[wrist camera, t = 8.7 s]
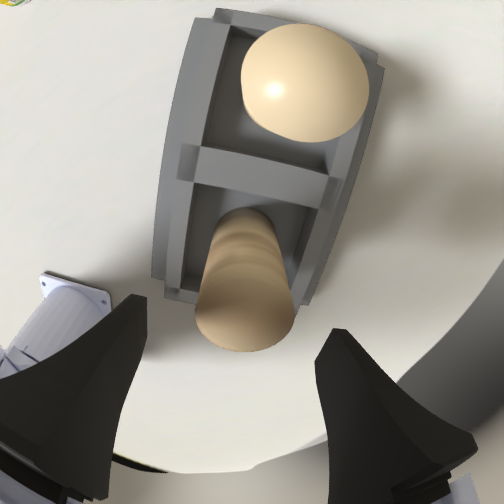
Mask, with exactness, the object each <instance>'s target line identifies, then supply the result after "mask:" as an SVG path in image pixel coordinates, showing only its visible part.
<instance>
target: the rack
mask: <svg viewBox="0 0 504 504" xmlns="http://www.w3.org/2000/svg"><path fill="white" fill-rule="evenodd" d="M377 57H378V53H377V52H375V51H372V50H370V49H368V48H366V47H363V46H361V45H359V44H356V43H354V42H351V41H349V40H346V39H344V38H341V37H340V36H339V35H337V34H335V33H334V32H332V31H330V30H327V29H325V28H322V27H319V26H315V25H310V24H299V23H295V22H291V21H287V20H283V19H279V18H275V17H270V16H266V15H261V14H255V13H250V12H244V11H237V10H230V9H222V8H216V10H215V13H214V16H213V19H208V18H195V19H194V22H193V25H192V28H191V32H190V35H189V38H188V42H187V45H186V49H185V52H184V56H183V60H182V64H181V67H180V71H179V75H178V80H177V84H176V88H175V92H174V97H173V102H172V106H171V111H170V116H169V122H168V127H167V132H166V138H165V144H164V150H163V157H162V163H161V170H160V178H159V186H158V194H157V203H156V213H155V224H154V237H153V252H152V273H151V277H152V278H156V279H161V280H165V293H164V298H167V299H172V300H177V301H182V302H187V303H192V304H197V300H198V295H199V291H200V287H201V283H202V278H203V274H204V270H205V266H206V262H207V258H208V254H209V250H210V246H211V242H212V238H213V234H214V231H215V227H216V225H217V223H218V221H219V220H220V218H221V217H222V216H223V215H224V214H226V213H227V212H229V211H231V210H233V209H236V208H242V207H248V208H254V209H257V210H259V211H261V212H263V213H264V214H265V215H267V216H268V217H269V219H270V220H271V221H272V223H273V225H274V228H275V232H276V236H277V240H278V244H279V248H280V252H281V256H282V260H283V264H284V268H285V272H286V276H287V280H288V285H289V289H290V293H291V297H292V302H293V306H294V311H295V317H296V314H297V312H298V309H299V307H300V304H301V305H308V306H309V303H310V301H311V299H312V296H313V294H314V291H315V289H316V287H317V284H318V282H319V279H320V277H321V274H322V272H323V269H324V267H325V264H326V261H327V259H328V256H329V254H330V251H331V248H332V246H333V243H334V240H335V238H336V235H337V232H338V229H339V227H340V224H341V221H342V218H343V215H344V212H345V210H346V207H347V204H348V201H349V198H350V195H351V192H352V189H353V186H354V182H355V179H356V176H357V173H358V170H359V166H360V163H361V160H362V156H363V153H364V150H365V146H366V143H367V139H368V136H369V132H370V128H371V125H372V121H373V117H374V113H375V109H376V105H377V101H378V97H379V93H380V88H381V84H382V80H383V75H384V70H385V68H383V67H381V66H379V65H377V64H376V62H377ZM294 319H295V318H294Z"/></svg>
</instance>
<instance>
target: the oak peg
mask: <svg viewBox="0 0 504 504" xmlns="http://www.w3.org/2000/svg"><path fill="white" fill-rule="evenodd" d="M294 318H295V311H294V306H293V302H292V297H291V293H290V289H289V285H288V280H287V276H286V272H285V268H284V264H283V260H282V256H281V252H280V248H279V244H278V240H277V236H276V232H275V228H274V225H273V223H272V221H271V220H270V219H269V217H268V216H267V215H265V214H264V213H263V212H261V211H259V210H257V209H254V208H248V207H242V208H236V209H233V210H231V211H229V212H227V213H226V214H224V215H223V216H222V217H221V218H220V220H219V221H218V223H217V225H216V227H215V231H214V234H213V238H212V242H211V246H210V250H209V254H208V258H207V262H206V266H205V270H204V274H203V278H202V283H201V287H200V291H199V295H198V300H197V304H196V308H195V320H196V324H197V326H198V328H199V330H200V331H201V333H202V334H203V335H204V336H205V338H207V339H208V340H209V341H210V342H212V343H213V344H215V345H217V346H219V347H221V348H224V349H227V350H230V351H236V352H254V351H260V350H263V349H266V348H269V347H271V346H273V345H275V344H276V343H278V342H280V341H281V340H282V339H283V338H284V337H285V336H286V335H287V334H288V333H289V331H290V330H291V328H292V326H293V322H294Z"/></svg>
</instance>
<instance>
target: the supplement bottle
mask: <svg viewBox="0 0 504 504" xmlns="http://www.w3.org/2000/svg"><path fill="white" fill-rule="evenodd" d="M29 1H30V0H0V4H4V5H8V6H12V7H19V6H22V5H24V4H26V3H27V2H29Z"/></svg>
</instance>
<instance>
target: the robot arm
mask: <svg viewBox="0 0 504 504" xmlns="http://www.w3.org/2000/svg"><path fill="white" fill-rule="evenodd" d="M39 278H40V283H41V287H42V292H43V296H44V300H43V301H42V303H41V304H40V305H39V306H38V307H37V309H36V310H35V311H34V313H33V314H32V315H31V316H30V318H29V319H28V320H27V322H26V323H25V324H24V326H23V327H22V328H21V330H20V331H19V332H18V334H17V335H16V336H15V338H14V339H13V341H12V342H11V343H10V345H9V346H8V348H7V349H6V350H4V349H3V348H2V347H1V346H0V504H84V503H83V500H84V499H86V500H89V501H91V502H92V501H93V498H94V499H97V500H100V501H101V500H103V499H106V498H108V490H109V478H110V468H111V461H112V454H113V448H114V442H115V437H116V432H117V427H118V423H119V418H120V414H121V411H122V407H123V404H124V401H125V399H126V396H127V393H128V391H129V388H130V386H131V383H132V381H133V378H134V375H135V373H136V370H137V368H138V365H139V363H140V360H141V357H142V354H143V350H144V346H145V343H146V339H147V297H143V296H139V295H134V294H131V295H129V296H128V297H127V298H126V299H124V300H123V301H122V302H121V303H120V304H119V305H118V306H117V307H115V308H114V309H113V310H112V311H111V301H110V295H109V293H107V292H106V291H103V290H99V289H96V288H92V287H88V286H85V285H81V284H78V283H74V282H71V281H67V280H64V279H61V278H58V277H54V276H51V275H48V274H45V273H42V274H41V275H40V276H39ZM104 300H105V301H106V302H105V301H104ZM314 362H315V375H316V384H317V389H318V394H319V398H320V403H321V407H322V411H323V416H324V420H325V425H326V430H327V436H328V447H329V473H330V474H329V497H328V504H480V502H479V499H478V496H477V492H476V489H475V486H474V483H473V480H472V477H471V475H470V473H467V474H466V475H464V476H462V477H461V478H459V479H457V480H455V481H453V482H452V483H450V484H448V481H447V480H448V479H450V478H451V473H450V471H451V470H452V469H454V468H455V467H457V466H459V465H460V464H462V463H463V462H465V461H466V460H467V459H469V458H470V457H471V456H473V455H474V454H475V453H476V452H477V450H478V447H477V444H476V442H475V440H474V438H473V436H472V434H471V433H468V432H466V431H464V430H461V429H459V428H457V427H455V426H453V425H451V424H449V423H447V422H446V421H444V420H442V419H440V418H439V417H437V416H436V415H434V414H432V413H431V412H430V411H428V410H427V409H425V408H424V407H423V406H421V405H420V404H419V403H417V402H416V401H415V400H414V399H412V398H411V397H410V396H409V395H408V394H407V393H406V392H404V391H403V390H402V389H401V388H400V387H399V386H398V385H397V384H396V383H395V382H394V381H393V380H392V379H391V378H390V377H389V376H388V375H387V374H386V373H385V372H384V371H383V370H382V369H381V368H380V366H379V365H378V364H377V363H376V362H375V361H374V360H373V359H372V357H371V356H370V355H369V354H368V353H367V352H366V351H365V349H364V348H363V347H362V346H361V345H360V344H359V343H358V342H357V340H356V339H355V338H354V337H353V336H352V335H351V334H350V333H349V332H348V331H347V330H346V329H337V328H333V329H332V331H331V333H330V335H329V337H328V338H327V340H326V342H325V344H324V346H323V347H322V349H321V351H320V353H319V354H318V356H317V358H316V360H315V361H314Z"/></svg>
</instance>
